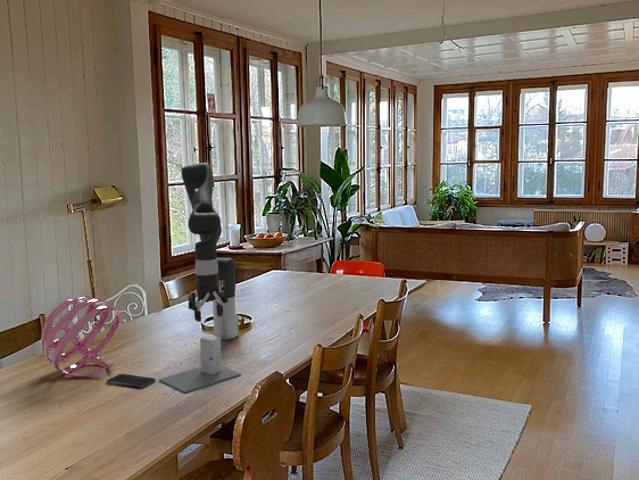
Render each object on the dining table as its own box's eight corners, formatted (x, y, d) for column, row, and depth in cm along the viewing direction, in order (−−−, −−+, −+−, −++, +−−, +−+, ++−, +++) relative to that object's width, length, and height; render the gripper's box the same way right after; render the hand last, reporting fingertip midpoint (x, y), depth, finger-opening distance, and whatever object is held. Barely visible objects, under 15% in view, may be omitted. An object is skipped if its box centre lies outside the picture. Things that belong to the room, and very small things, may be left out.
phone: (141, 387, 197) (104, 381, 203) (141, 390, 197) (105, 384, 203) (156, 378, 204) (120, 373, 210) (157, 381, 204) (121, 376, 210)
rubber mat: (213, 364, 219) (213, 362, 219) (240, 375, 208) (240, 373, 208) (159, 380, 204) (159, 379, 204) (185, 393, 193) (184, 391, 193)
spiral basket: (150, 315, 213) (96, 269, 219) (87, 356, 191) (28, 303, 197) (134, 364, 229) (83, 320, 235) (74, 407, 207) (19, 357, 213)
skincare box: (200, 371, 210) (198, 337, 209) (209, 368, 214) (207, 334, 212) (213, 375, 207) (211, 340, 205) (222, 371, 211) (221, 337, 209)
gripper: (217, 267, 213) (219, 312, 215) (182, 273, 203) (185, 321, 205) (230, 270, 207) (232, 316, 210) (195, 276, 198) (197, 325, 200)
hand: (209, 318), depth 208 cm, fingers open, 8 cm apart
